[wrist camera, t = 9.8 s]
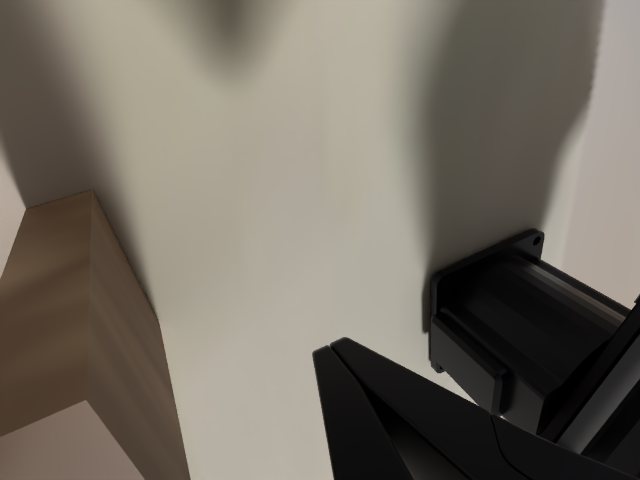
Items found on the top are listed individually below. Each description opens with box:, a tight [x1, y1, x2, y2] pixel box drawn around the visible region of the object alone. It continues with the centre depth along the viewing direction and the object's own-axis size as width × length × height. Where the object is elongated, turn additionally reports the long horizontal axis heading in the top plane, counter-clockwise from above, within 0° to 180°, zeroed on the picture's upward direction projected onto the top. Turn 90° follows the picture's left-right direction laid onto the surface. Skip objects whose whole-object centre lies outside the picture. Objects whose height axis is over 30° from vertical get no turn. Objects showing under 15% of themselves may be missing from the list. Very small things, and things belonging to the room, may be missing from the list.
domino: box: [0, 190, 191, 480], centre depth 9 cm, size 2×5×8 cm, turn 10°
